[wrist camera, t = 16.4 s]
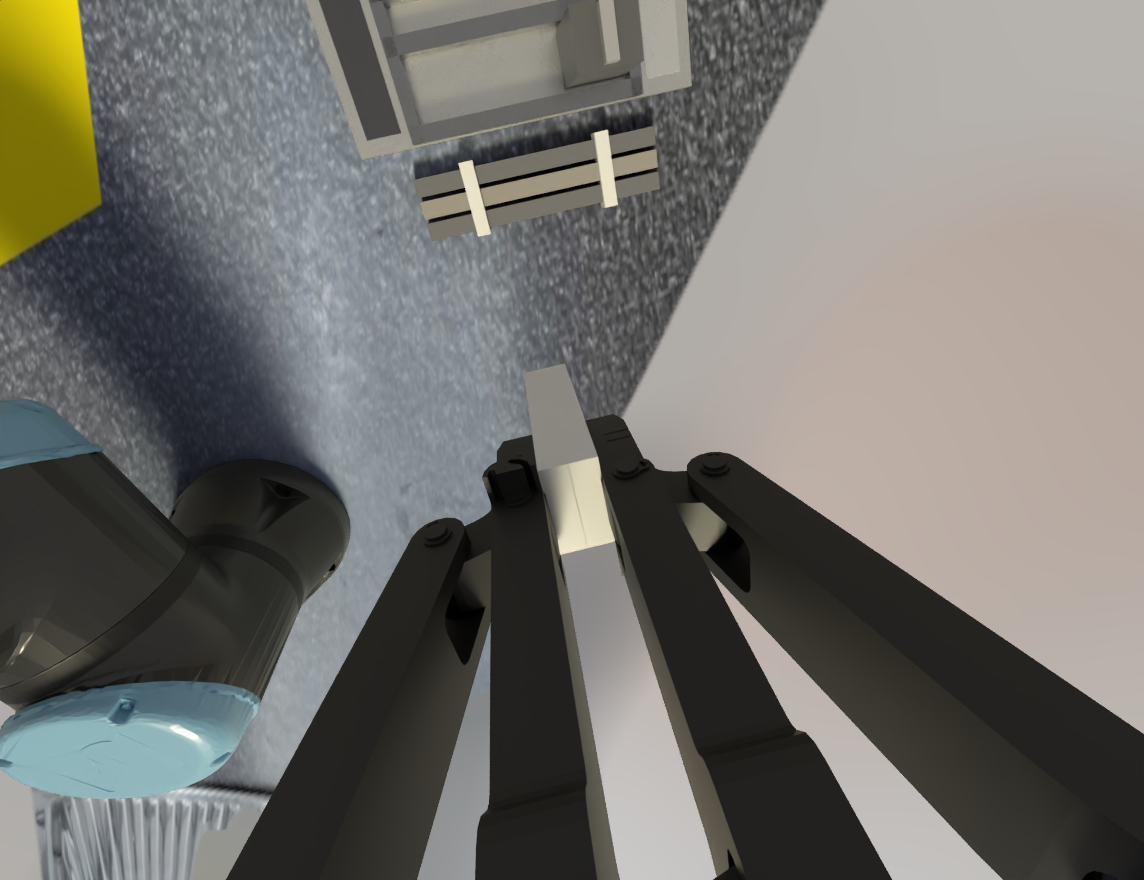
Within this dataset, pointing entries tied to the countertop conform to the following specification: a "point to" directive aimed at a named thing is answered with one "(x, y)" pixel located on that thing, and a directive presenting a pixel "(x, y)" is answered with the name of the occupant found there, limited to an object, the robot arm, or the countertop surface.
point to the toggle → (599, 41)
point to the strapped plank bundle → (539, 183)
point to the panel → (475, 66)
